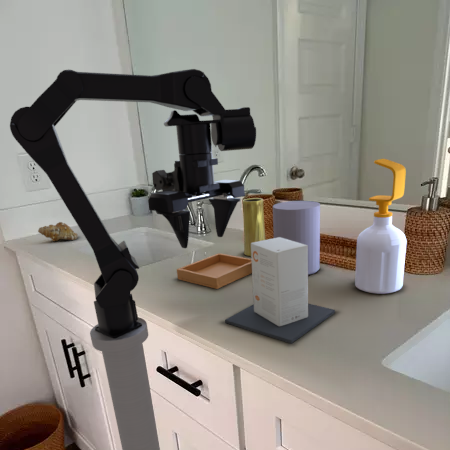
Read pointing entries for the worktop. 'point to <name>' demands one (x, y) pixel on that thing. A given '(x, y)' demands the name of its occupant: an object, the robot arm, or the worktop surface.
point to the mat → (283, 333)
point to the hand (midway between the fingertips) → (202, 242)
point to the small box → (280, 280)
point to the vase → (253, 223)
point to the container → (300, 227)
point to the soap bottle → (382, 242)
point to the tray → (216, 270)
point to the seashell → (58, 232)
